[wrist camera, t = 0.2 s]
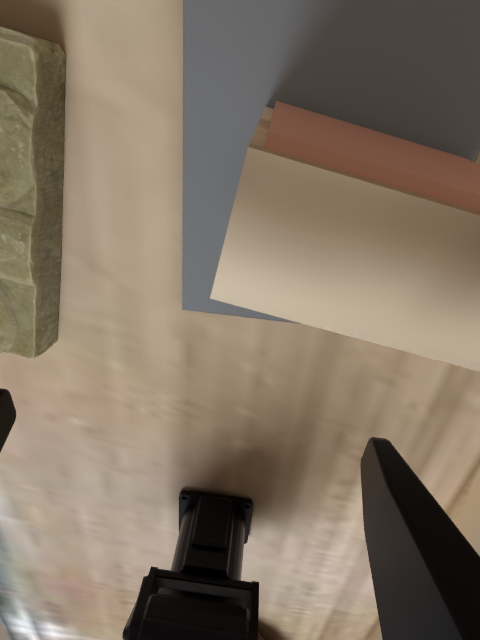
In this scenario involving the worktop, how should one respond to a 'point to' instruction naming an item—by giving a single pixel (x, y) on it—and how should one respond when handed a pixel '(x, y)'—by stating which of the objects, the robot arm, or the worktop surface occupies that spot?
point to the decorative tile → (30, 190)
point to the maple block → (356, 236)
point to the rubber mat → (313, 94)
